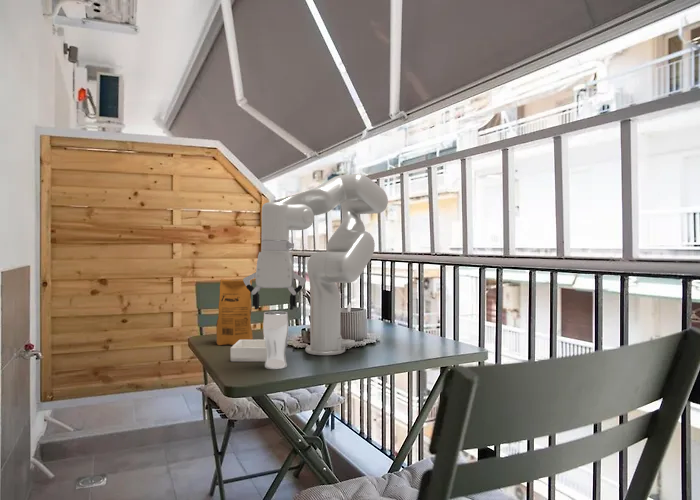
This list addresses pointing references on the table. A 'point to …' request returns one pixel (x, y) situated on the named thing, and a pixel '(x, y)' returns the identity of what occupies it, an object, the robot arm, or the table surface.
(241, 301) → the coffee package
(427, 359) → the table surface
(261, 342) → the tray
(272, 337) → the beer glass
